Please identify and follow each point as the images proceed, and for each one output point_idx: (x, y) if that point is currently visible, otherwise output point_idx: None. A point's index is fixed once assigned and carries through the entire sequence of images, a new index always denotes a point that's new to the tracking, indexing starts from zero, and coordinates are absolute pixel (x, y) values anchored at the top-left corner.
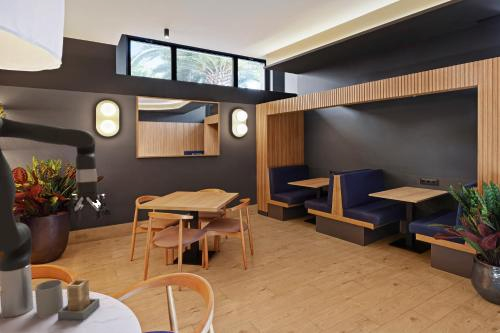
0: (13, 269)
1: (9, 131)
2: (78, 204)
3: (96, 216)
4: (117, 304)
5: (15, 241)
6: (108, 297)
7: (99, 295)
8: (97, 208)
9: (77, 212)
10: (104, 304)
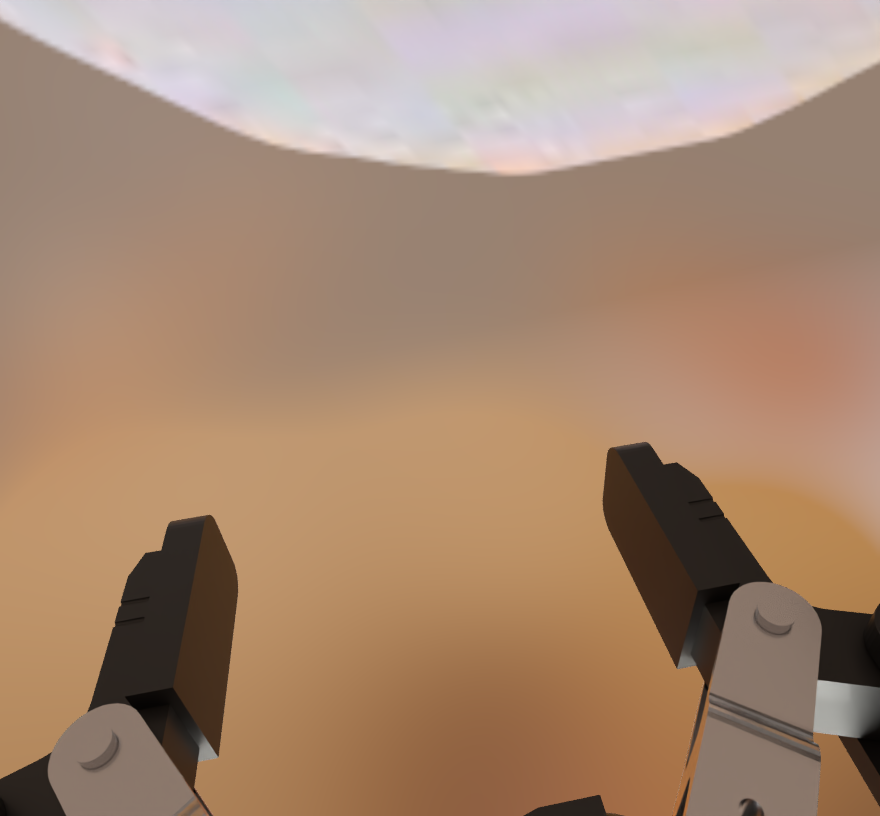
0: None
1: None
2: (751, 784)
3: (194, 569)
4: (60, 31)
5: None
6: (217, 117)
7: (304, 131)
8: (96, 778)
9: (690, 559)
10: (158, 13)
